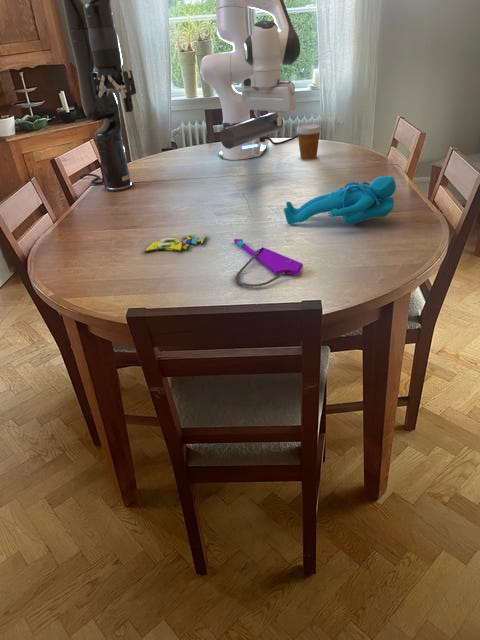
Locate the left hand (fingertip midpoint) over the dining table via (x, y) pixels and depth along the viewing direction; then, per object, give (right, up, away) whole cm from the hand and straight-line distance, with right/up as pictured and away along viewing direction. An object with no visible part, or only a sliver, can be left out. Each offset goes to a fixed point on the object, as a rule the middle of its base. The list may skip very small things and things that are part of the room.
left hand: (118, 111), depth 137 cm
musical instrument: (+38, -47, -22) cm, 64 cm away
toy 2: (+62, -32, -2) cm, 70 cm away
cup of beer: (+63, +5, +56) cm, 84 cm away
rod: (+39, 0, +22) cm, 45 cm away
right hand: (+45, +7, +26) cm, 52 cm away
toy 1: (+18, -39, -7) cm, 44 cm away
